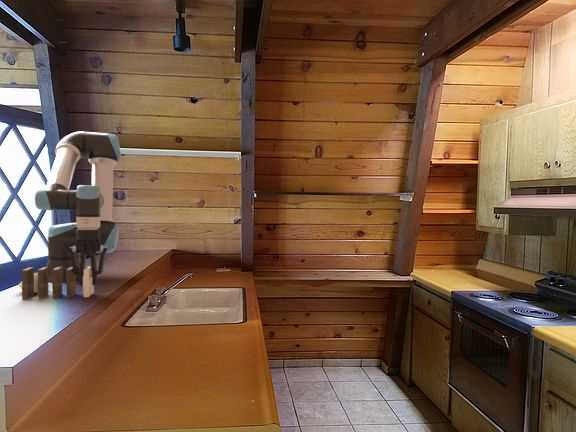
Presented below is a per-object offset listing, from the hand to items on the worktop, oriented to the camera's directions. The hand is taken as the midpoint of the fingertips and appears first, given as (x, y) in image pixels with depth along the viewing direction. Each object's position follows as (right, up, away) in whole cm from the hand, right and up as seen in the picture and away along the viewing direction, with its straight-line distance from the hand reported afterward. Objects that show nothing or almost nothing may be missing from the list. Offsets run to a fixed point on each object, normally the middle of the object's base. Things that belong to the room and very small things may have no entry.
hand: (88, 293), depth 139 cm
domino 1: (-19, 0, -5) cm, 19 cm away
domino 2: (-14, 0, -3) cm, 15 cm away
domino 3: (-10, 0, -2) cm, 10 cm away
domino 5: (0, -1, 0) cm, 1 cm away
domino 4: (-5, -1, -1) cm, 6 cm away
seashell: (-22, 0, +2) cm, 22 cm away
